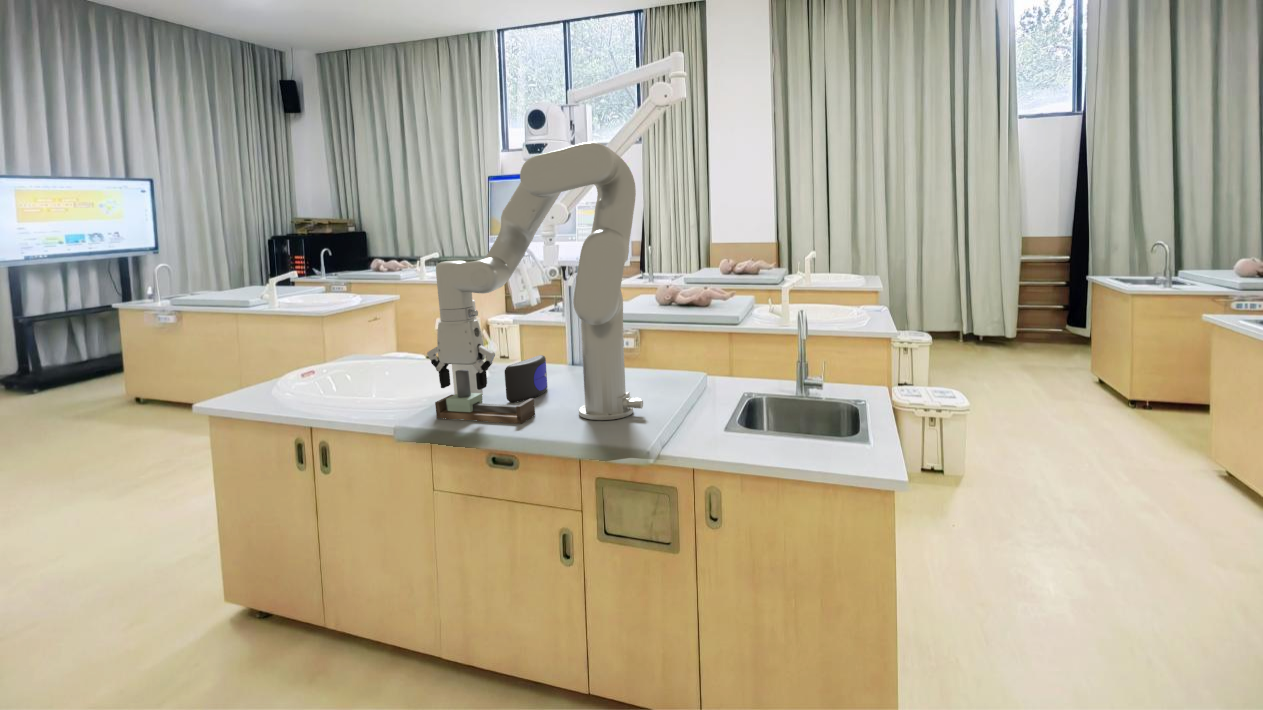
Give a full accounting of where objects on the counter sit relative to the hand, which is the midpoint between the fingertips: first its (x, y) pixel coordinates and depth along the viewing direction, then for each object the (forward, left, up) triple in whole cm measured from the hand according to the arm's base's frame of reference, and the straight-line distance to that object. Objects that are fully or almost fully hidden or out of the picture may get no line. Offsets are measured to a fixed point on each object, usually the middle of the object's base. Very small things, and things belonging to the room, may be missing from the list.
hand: (463, 387), depth 170 cm
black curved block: (-6, -20, -7) cm, 22 cm away
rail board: (-5, 0, -7) cm, 9 cm away
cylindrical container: (+9, -16, -7) cm, 20 cm away
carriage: (0, 0, -5) cm, 5 cm away
